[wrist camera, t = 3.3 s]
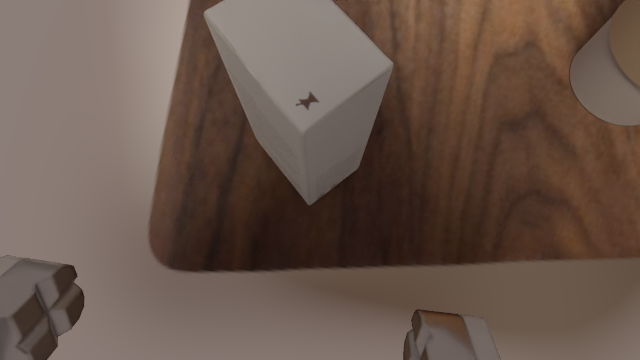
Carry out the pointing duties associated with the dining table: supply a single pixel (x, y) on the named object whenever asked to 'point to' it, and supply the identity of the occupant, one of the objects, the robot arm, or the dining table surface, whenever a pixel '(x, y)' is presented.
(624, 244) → the dining table surface
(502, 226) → the dining table surface
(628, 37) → the coffee cup
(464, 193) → the dining table surface
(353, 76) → the cosmetic box
